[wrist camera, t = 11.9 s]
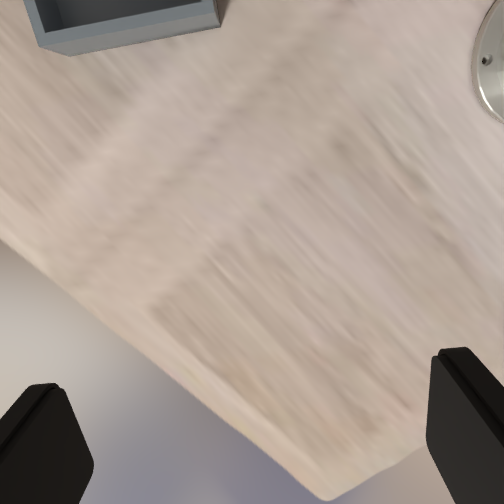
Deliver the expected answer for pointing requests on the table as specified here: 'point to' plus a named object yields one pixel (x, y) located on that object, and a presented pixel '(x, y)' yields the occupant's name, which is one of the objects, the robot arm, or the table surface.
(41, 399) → the robot arm
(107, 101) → the table surface
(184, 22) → the open box
